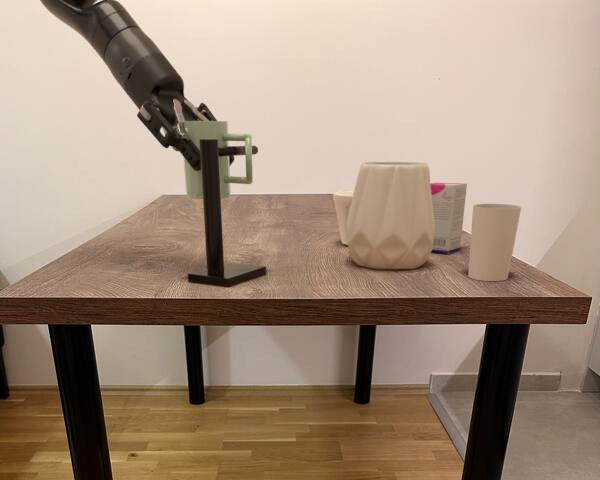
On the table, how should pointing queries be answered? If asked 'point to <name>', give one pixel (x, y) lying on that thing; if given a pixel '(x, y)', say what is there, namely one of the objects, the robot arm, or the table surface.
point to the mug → (220, 132)
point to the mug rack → (218, 222)
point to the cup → (343, 211)
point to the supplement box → (448, 216)
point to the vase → (391, 216)
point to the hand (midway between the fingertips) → (216, 165)
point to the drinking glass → (492, 241)
